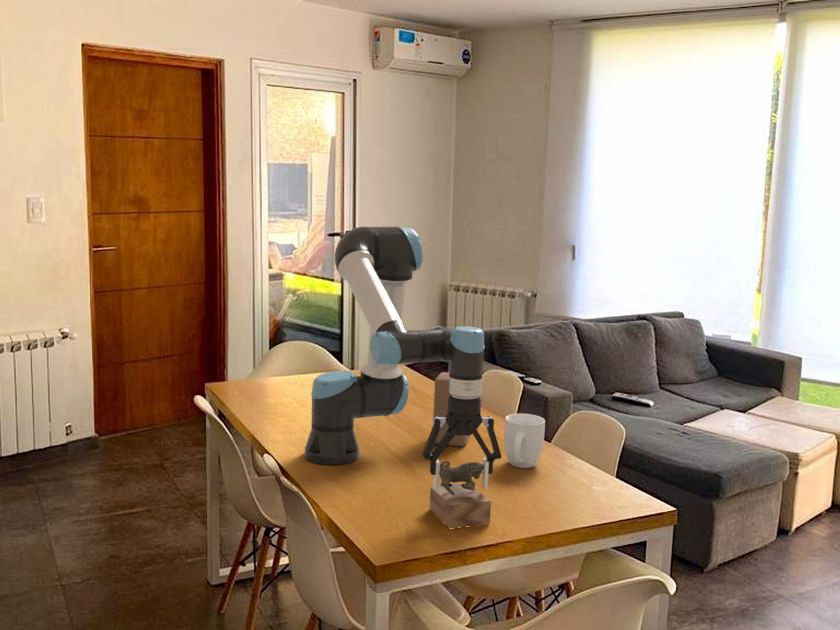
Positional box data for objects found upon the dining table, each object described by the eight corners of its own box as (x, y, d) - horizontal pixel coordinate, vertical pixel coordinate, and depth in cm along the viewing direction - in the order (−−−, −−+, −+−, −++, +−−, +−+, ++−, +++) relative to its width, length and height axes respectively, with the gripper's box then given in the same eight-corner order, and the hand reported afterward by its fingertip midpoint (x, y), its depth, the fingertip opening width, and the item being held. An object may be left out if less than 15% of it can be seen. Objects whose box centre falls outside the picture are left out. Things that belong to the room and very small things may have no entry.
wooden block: (465, 448, 250) (468, 381, 247) (431, 444, 252) (434, 378, 249) (470, 438, 260) (473, 373, 257) (437, 434, 262) (440, 371, 259)
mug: (536, 477, 227) (539, 430, 225) (495, 472, 231) (498, 425, 229) (545, 461, 242) (548, 416, 239) (507, 455, 245) (509, 411, 243)
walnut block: (449, 530, 192) (450, 505, 191) (429, 510, 203) (430, 486, 202) (489, 525, 196) (490, 500, 195) (467, 506, 207) (469, 482, 206)
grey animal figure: (445, 497, 193) (446, 465, 192) (433, 488, 198) (434, 457, 197) (490, 489, 198) (492, 458, 197) (477, 481, 203) (479, 451, 202)
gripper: (416, 399, 189) (412, 494, 193) (518, 399, 193) (513, 492, 196) (412, 390, 197) (408, 482, 200) (510, 391, 200) (505, 481, 204)
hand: (460, 487), depth 198 cm, fingers closed on grey animal figure, 11 cm apart
